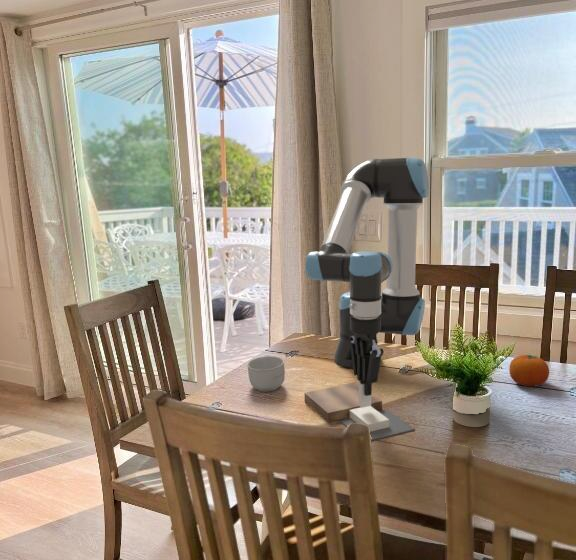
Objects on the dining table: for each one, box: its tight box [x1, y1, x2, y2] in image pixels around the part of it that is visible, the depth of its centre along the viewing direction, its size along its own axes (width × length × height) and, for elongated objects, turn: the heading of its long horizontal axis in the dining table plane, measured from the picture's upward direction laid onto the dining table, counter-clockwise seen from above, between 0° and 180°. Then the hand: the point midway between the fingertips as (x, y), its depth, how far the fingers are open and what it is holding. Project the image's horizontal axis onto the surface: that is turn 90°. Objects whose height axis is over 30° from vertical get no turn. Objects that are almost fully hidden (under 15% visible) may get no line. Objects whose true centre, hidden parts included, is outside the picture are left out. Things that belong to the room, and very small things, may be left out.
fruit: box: [508, 354, 550, 387], centre depth 160 cm, size 11×10×8 cm
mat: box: [339, 409, 416, 442], centre depth 138 cm, size 14×12×1 cm
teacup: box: [246, 354, 286, 393], centre depth 164 cm, size 14×11×8 cm
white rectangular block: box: [349, 406, 389, 432], centre depth 139 cm, size 6×9×2 cm, turn 23°
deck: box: [303, 382, 383, 423], centre depth 150 cm, size 16×14×2 cm
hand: (365, 405), depth 140 cm, fingers closed
